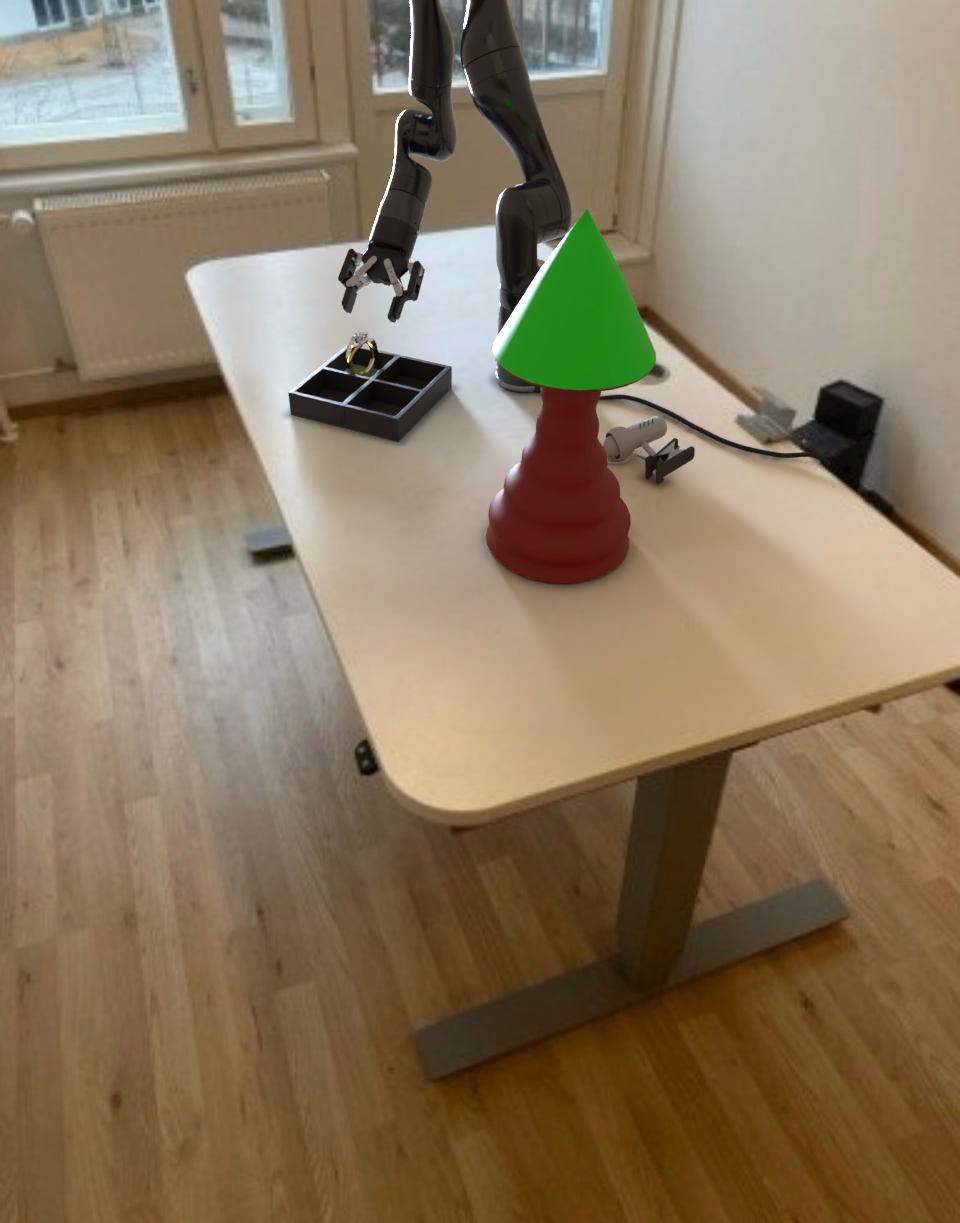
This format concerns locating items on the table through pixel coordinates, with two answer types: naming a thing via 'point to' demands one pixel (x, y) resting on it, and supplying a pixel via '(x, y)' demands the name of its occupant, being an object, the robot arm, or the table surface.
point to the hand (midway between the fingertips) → (368, 315)
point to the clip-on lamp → (647, 447)
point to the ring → (351, 356)
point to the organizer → (372, 393)
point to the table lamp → (568, 414)
